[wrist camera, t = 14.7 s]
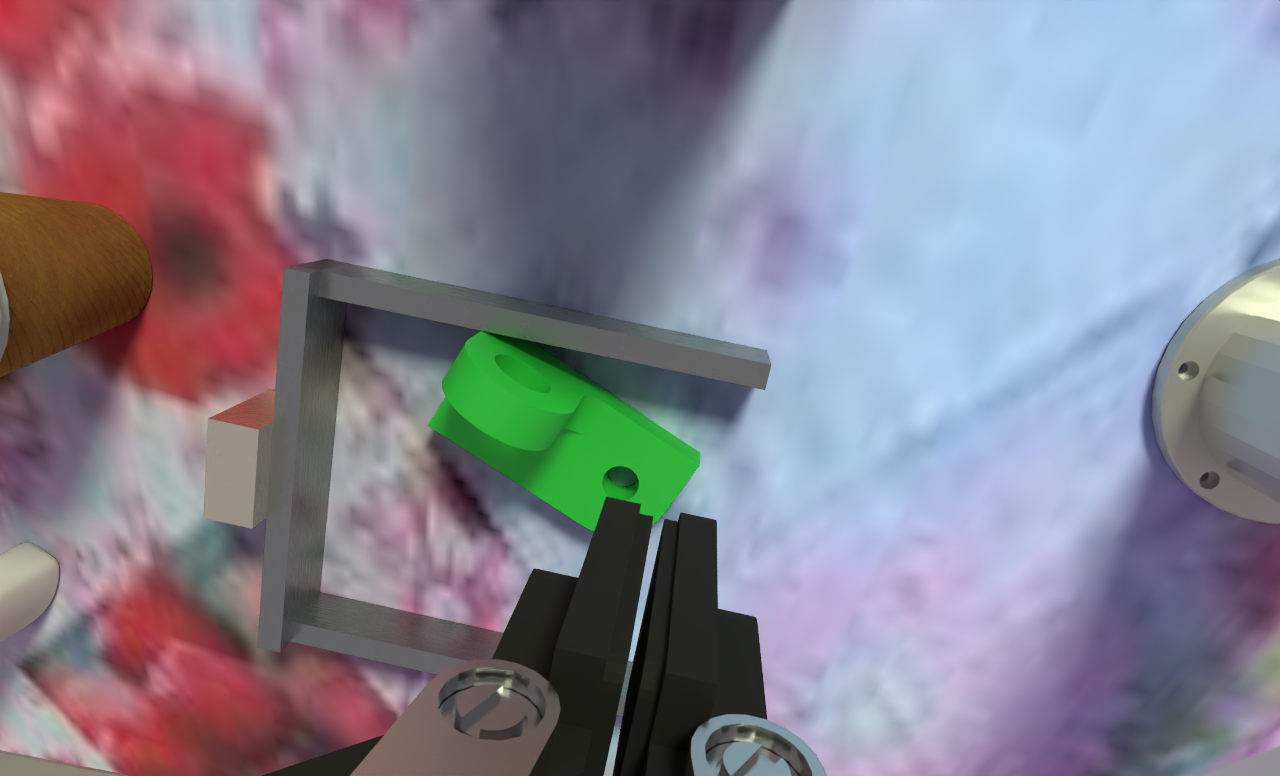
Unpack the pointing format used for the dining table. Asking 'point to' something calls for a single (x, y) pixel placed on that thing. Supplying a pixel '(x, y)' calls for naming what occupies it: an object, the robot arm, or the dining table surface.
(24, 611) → the eye dropper bottle
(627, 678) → the drawer frame
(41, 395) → the dining table surface
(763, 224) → the dining table surface
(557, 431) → the mechanical part
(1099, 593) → the dining table surface
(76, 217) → the disposable coffee cup
